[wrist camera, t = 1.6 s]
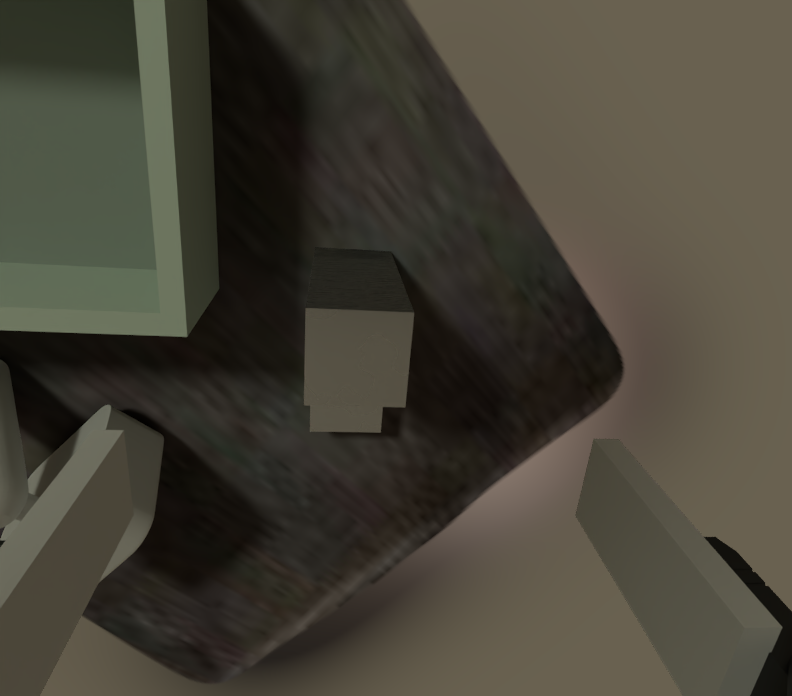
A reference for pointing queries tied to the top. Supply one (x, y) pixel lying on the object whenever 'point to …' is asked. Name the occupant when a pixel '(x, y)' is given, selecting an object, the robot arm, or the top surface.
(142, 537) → the wall hook
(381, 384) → the grey l-shaped block
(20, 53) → the open box
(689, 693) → the robot arm
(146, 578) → the top surface
